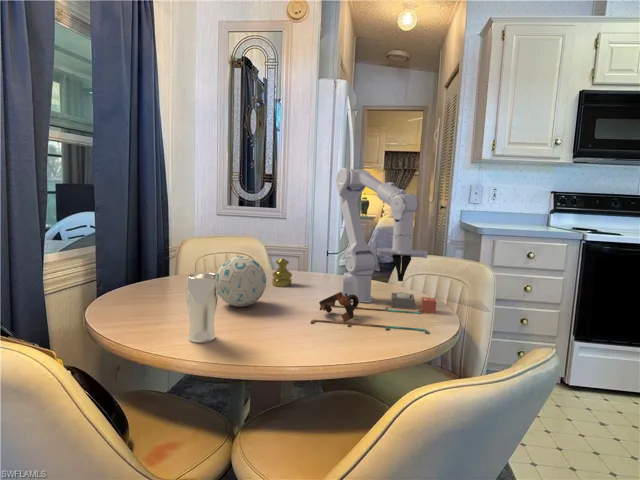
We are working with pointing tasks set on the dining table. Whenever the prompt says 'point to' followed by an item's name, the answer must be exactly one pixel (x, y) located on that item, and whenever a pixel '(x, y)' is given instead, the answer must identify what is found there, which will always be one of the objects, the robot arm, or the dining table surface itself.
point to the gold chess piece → (282, 274)
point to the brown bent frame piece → (344, 301)
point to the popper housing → (403, 301)
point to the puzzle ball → (241, 281)
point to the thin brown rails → (372, 324)
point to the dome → (402, 295)
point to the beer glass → (202, 306)
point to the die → (428, 305)
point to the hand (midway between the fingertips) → (400, 280)
